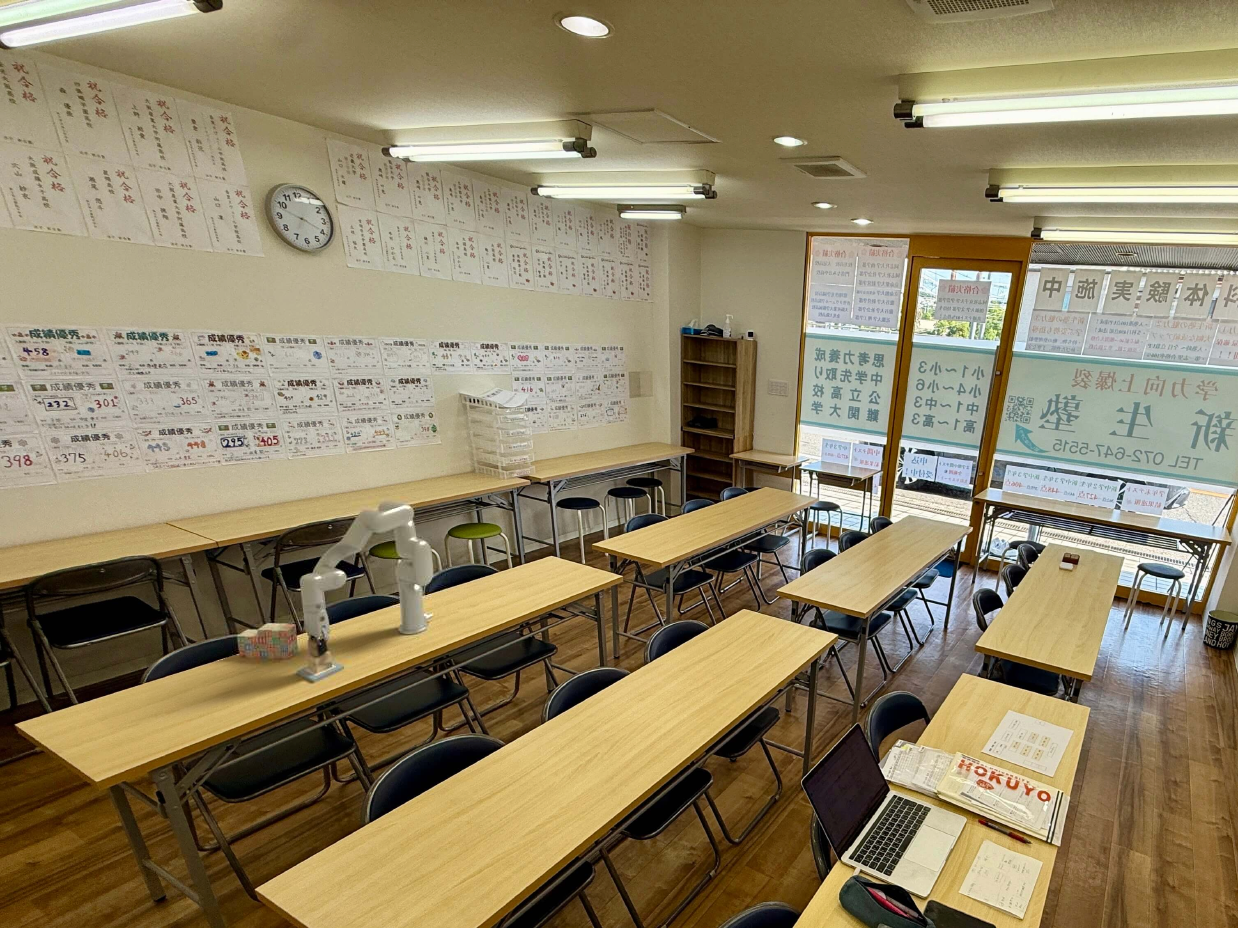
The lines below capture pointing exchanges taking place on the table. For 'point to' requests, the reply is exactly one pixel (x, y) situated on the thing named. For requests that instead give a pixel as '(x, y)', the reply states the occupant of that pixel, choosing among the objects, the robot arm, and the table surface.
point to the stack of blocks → (269, 641)
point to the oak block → (319, 662)
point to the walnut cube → (315, 646)
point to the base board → (316, 677)
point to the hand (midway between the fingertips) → (318, 650)
